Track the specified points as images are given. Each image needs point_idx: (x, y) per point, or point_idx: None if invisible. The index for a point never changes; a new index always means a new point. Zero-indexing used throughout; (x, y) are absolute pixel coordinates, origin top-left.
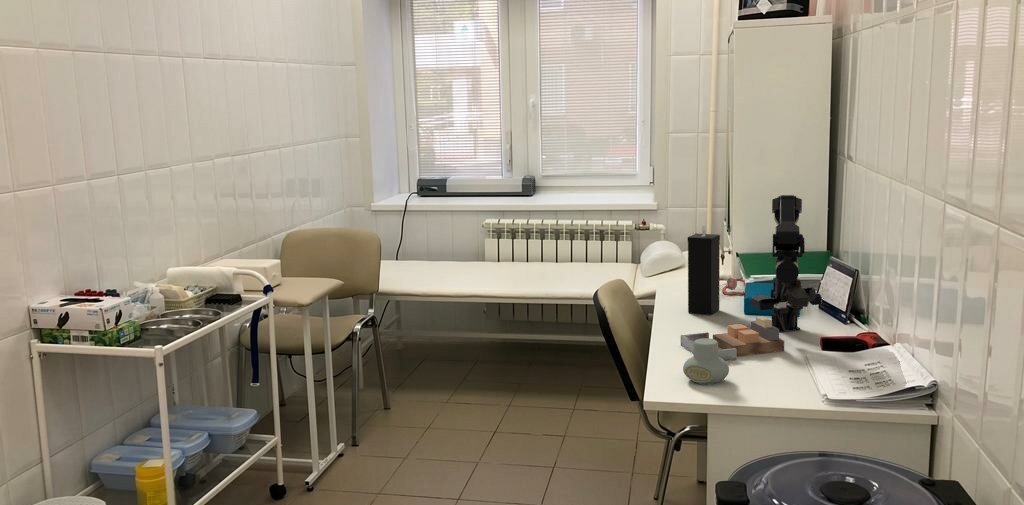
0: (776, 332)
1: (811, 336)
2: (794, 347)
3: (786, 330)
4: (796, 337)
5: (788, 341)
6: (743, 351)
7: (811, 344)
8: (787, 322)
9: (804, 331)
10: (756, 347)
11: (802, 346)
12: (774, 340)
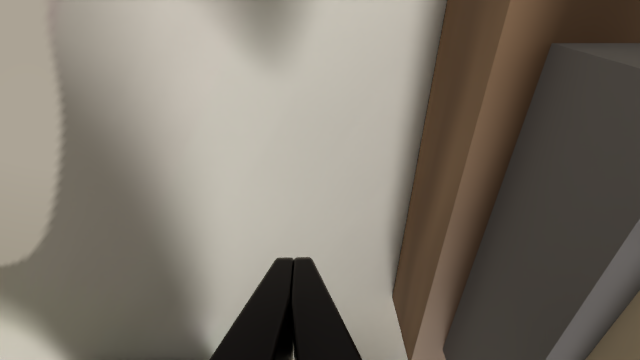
0: None
1: (38, 271)
2: (277, 72)
3: (298, 258)
4: (153, 279)
5: (245, 227)
6: None
7: (82, 104)
8: (280, 353)
9: (66, 347)
10: None
11: (189, 75)
12: (626, 39)
